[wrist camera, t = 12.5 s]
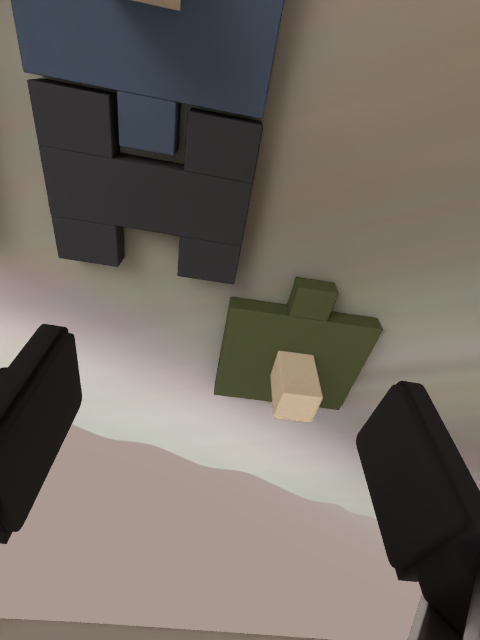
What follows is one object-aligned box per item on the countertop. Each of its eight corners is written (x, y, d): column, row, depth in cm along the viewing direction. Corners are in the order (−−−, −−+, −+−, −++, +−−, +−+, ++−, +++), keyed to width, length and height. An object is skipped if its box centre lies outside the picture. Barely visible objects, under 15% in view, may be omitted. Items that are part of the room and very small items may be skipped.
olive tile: (391, 291, 26) (424, 343, 21) (336, 397, 34) (350, 453, 29) (235, 267, 25) (233, 316, 20) (215, 382, 33) (209, 438, 28)
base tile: (262, 121, 19) (263, 125, 18) (234, 274, 25) (234, 284, 24) (41, 78, 18) (26, 79, 17) (67, 248, 24) (58, 258, 23)
